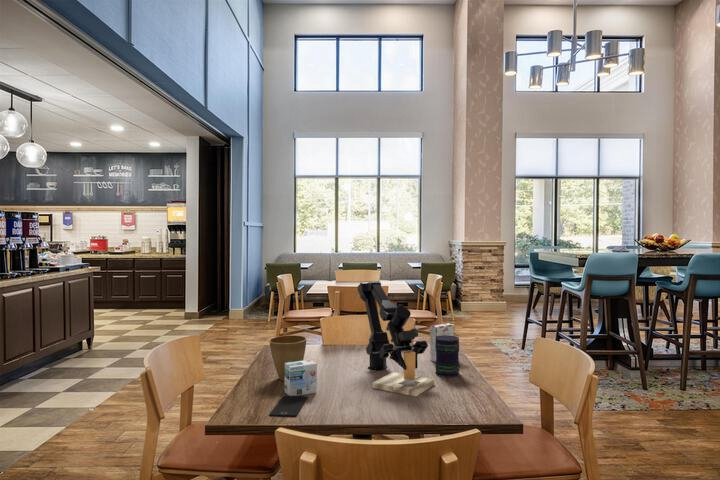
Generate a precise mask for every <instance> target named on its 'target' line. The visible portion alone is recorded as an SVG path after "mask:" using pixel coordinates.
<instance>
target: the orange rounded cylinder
mask: <svg viewBox="0 0 720 480" xmlns="http://www.w3.org/2000/svg"><path fill="white" fill-rule="evenodd" d="M403 360H404V362H405V365H406V370H404V369H403V374H404V385H407V386H412V387H414V386H415V376H416V368H415V352H413V351H403Z"/></svg>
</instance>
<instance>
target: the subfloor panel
mask: <svg viewBox="0 0 720 480" xmlns="http://www.w3.org/2000/svg"><path fill="white" fill-rule="evenodd" d="M434 385H435V379H434V378H429V377H425V376H424V377H423V376H422V377H421V376H419V375H417V376H416V375H415V386H414V387H412V386H407V385H404V373H400V372H394V371H392V372H390V373H389V374H386V375H385V376H383V377H381V378H379V379H377V380H374V381H373V382H372V389H377V390H381V391H387V392H391V393H395V394H399V395H407V396H411V397H418V396H419V395H421V394H422V393H423V392H425V391H427V390H428V389H430V388H431V387H433V386H434Z"/></svg>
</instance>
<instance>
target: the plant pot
mask: <svg viewBox="0 0 720 480" xmlns="http://www.w3.org/2000/svg"><path fill="white" fill-rule="evenodd" d="M268 341H269V347H270V352H271V359H272V362H273V365H274V368H275V371H276V373H277V377H278V378H279V380H280V381H284V382H285V363H289V362H296V361H304V360H305V353H306V347H307V346H306V345H307V337H306V336H303V335H297V334H290V335H289V334H288V335H280V336H275V337H272V338H270V339H269V340H268Z"/></svg>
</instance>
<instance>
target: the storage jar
mask: <svg viewBox="0 0 720 480" xmlns="http://www.w3.org/2000/svg"><path fill="white" fill-rule="evenodd" d="M435 347H436V348H435V349H436V362H435V363H434V364H435V375H436V376H439V377H442V378H456V377H459V375H460V359H459V352H460V338H459V337H458V336H455V335H454V336H447V335H444V336H437V337H436V343H435Z"/></svg>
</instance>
